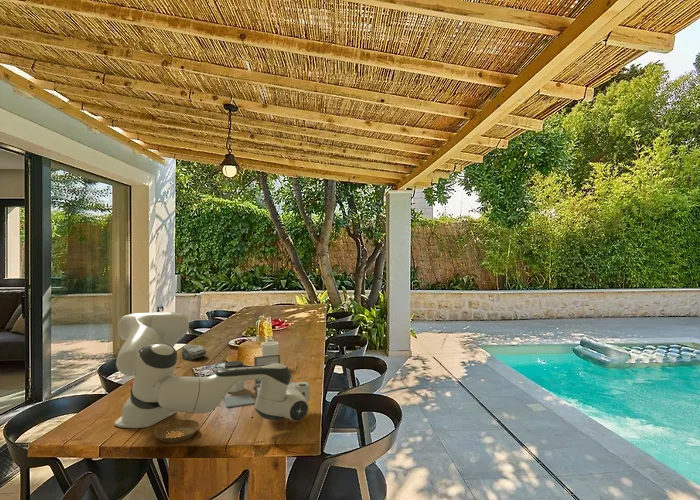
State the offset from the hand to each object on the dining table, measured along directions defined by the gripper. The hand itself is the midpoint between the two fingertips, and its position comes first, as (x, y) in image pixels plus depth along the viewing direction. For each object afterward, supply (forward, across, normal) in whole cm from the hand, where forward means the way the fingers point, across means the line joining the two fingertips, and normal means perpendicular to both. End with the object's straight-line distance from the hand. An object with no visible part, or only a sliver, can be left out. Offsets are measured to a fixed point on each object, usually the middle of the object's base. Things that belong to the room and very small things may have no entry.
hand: (279, 384), depth 169 cm
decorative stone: (+93, -29, -9) cm, 98 cm away
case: (+17, 0, -9) cm, 19 cm away
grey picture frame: (+22, 0, +1) cm, 22 cm away
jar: (+27, -14, -9) cm, 32 cm away
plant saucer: (-13, -39, -9) cm, 42 cm away
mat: (+11, -14, -9) cm, 20 cm away
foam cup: (+57, +8, -9) cm, 58 cm away
